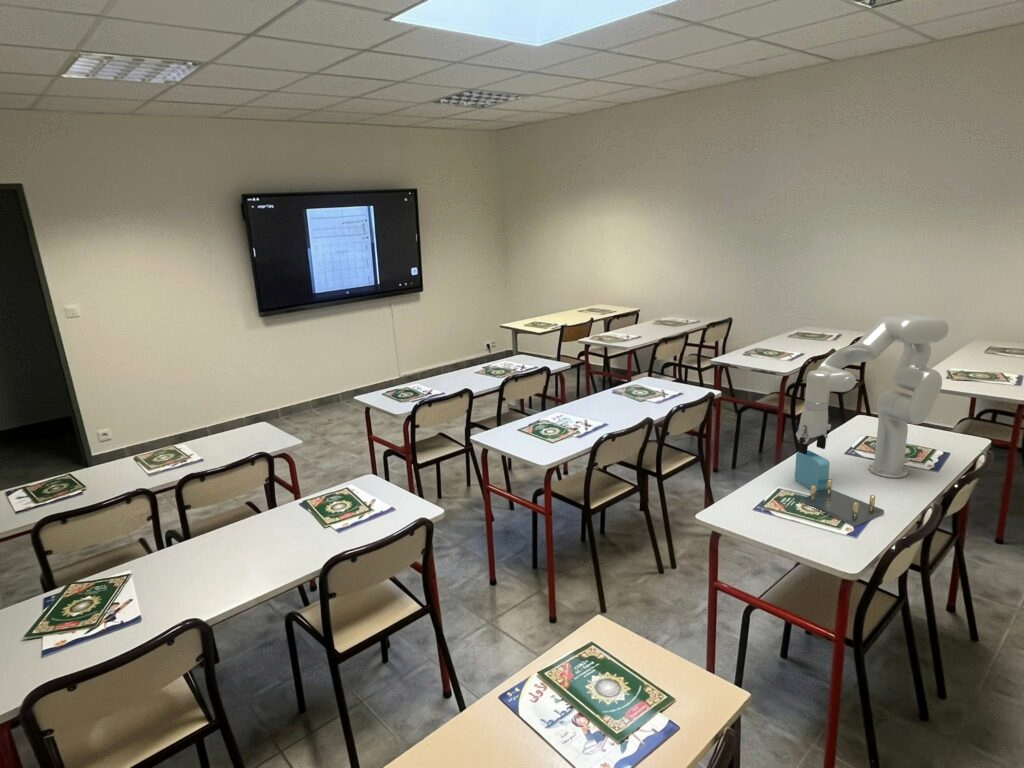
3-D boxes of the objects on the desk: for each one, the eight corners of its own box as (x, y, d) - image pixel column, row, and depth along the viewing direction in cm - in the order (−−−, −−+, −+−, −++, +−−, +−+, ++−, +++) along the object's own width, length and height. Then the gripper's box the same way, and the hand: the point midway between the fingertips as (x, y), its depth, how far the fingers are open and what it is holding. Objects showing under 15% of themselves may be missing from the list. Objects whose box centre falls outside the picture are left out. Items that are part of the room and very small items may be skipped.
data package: (827, 491, 219) (830, 460, 216) (816, 493, 218) (819, 462, 215) (804, 478, 230) (806, 448, 227) (794, 480, 229) (796, 450, 226)
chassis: (828, 492, 219) (830, 475, 217) (883, 514, 201) (885, 496, 200) (800, 503, 212) (801, 485, 210) (854, 526, 195) (856, 508, 193)
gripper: (822, 398, 223) (818, 442, 227) (790, 406, 215) (786, 452, 220) (841, 403, 217) (836, 449, 221) (809, 412, 209) (804, 458, 213)
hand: (811, 450), depth 220 cm, fingers open, 9 cm apart
